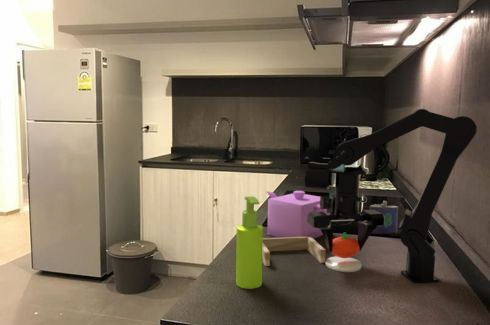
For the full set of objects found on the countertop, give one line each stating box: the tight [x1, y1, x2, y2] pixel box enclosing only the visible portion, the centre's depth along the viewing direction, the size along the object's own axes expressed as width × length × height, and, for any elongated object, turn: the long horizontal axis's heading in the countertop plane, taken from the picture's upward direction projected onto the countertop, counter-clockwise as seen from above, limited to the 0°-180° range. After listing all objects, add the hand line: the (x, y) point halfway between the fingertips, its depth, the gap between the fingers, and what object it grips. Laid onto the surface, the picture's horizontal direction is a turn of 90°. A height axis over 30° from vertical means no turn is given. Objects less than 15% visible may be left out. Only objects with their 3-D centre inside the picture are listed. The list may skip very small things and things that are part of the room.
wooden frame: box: [262, 236, 326, 267], centre depth 112 cm, size 12×16×4 cm
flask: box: [368, 200, 399, 235], centre depth 136 cm, size 9×3×11 cm, turn 88°
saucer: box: [324, 256, 363, 273], centre depth 106 cm, size 9×9×1 cm
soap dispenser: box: [235, 196, 264, 290], centre depth 93 cm, size 6×7×20 cm
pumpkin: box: [330, 231, 360, 258], centre depth 106 cm, size 7×8×6 cm
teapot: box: [265, 190, 331, 240], centre depth 134 cm, size 15×25×14 cm, turn 47°
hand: (344, 251), depth 106 cm, fingers closed on pumpkin, 7 cm apart
